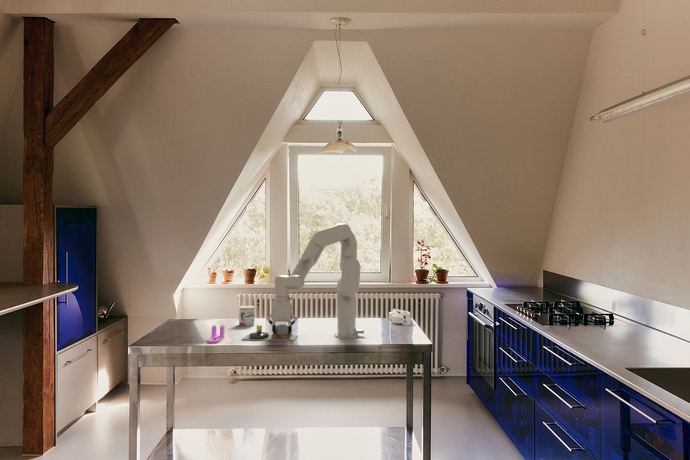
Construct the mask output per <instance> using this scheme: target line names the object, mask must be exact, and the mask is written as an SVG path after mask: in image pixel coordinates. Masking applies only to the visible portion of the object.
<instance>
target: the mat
mask: <svg viewBox="0 0 690 460" xmlns="http://www.w3.org/2000/svg"><path fill="white" fill-rule="evenodd" d="M271 335H272V334H269V337H268V338H265V339H251V338H249V334H246V335H245V336H243V338H241V341H257V342H258V341H263V342H264V341H268V342H273V341H274V342H295V341H296V340H297V338H298V337H299V335H296V334H295V335H293V334H292V336H291V338H290V339H271Z"/></svg>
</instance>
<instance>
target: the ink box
mask: <svg viewBox="0 0 690 460" xmlns="http://www.w3.org/2000/svg"><path fill="white" fill-rule="evenodd" d="M238 307H239V309H238V310H239V313H238V318H239V319H238V322H239V323H238V326H239V327H250V326H251V327H253V326H255V306H254V305H240V306H238Z"/></svg>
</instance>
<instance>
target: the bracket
mask: <svg viewBox="0 0 690 460" xmlns="http://www.w3.org/2000/svg"><path fill="white" fill-rule="evenodd" d="M219 326H220V327H219V335H218V334H217V325H216V324H215V325H212V327H211V337H210V338H209V339H207V344H218V343H220V342H221V341H222V340H224V339H225V325H219Z"/></svg>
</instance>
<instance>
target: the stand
mask: <svg viewBox="0 0 690 460" xmlns="http://www.w3.org/2000/svg"><path fill="white" fill-rule="evenodd" d="M279 325H280V324H279ZM283 326H284V325H280V327H283ZM270 335H271V339H290V338H291V336H292V335H293V331H292V332H291V333H290V334H287V335H276V334H273V333H272V334H270Z"/></svg>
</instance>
